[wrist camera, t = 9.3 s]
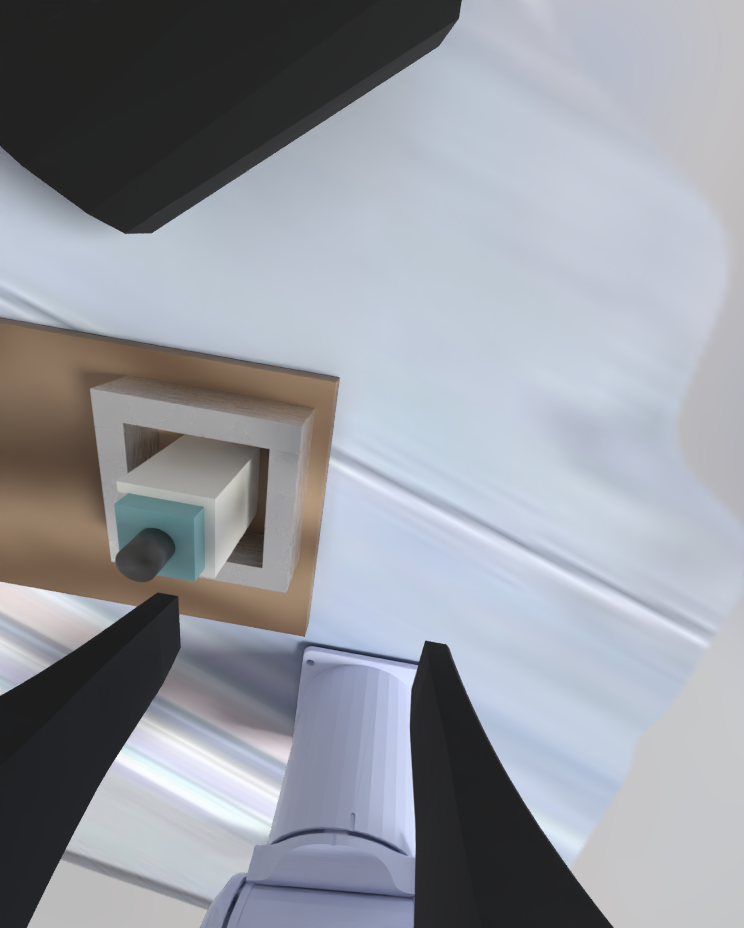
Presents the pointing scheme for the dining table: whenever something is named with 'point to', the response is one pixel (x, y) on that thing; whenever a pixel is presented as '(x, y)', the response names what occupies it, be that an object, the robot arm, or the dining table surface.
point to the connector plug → (186, 509)
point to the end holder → (222, 418)
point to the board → (79, 479)
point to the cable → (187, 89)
